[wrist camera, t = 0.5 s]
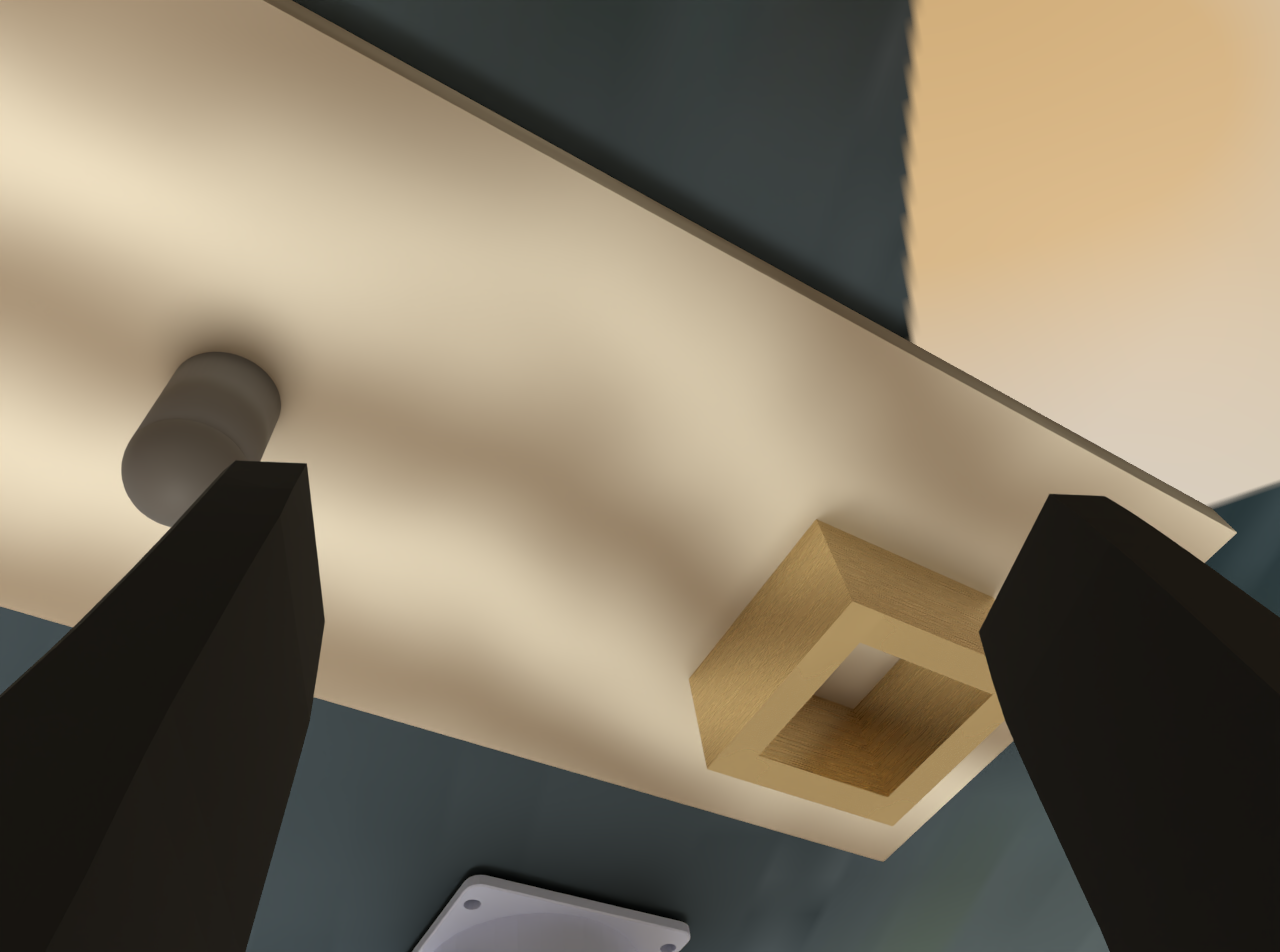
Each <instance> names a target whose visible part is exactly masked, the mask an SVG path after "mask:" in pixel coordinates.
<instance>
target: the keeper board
mask: <svg viewBox="0 0 1280 952" xmlns="http://www.w3.org/2000/svg"><path fill="white" fill-rule="evenodd" d="M235 460H238V461H262V462H287V463H307V468H308V477H309V486H310V494H311V503H312V512H313V521H314V529H315V538H316V547H317V556H318V565H319V573H320V582H321V591H322V600H323V608H324V617H325V625H324V631H323V638H322V645H321V652H320V658H319V665H318V672H317V678H316V684H315V691H314V697H316V698H319V699H322V700H326V701H329V702H333V703H336V704H340V705H343V706H347V707H350V708H354V709H357V710H360V711H364V712H367V713H371V714H374V715H378V716H381V717H385V718H388V719H392V720H395V721H398V722H402V723H405V724H409V725H412V726H416V727H419V728H423V729H426V730H430V731H433V732H436V733H440V734H443V735H447V736H450V737H454V738H457V739H461V740H464V741H468V742H471V743H474V744H478V745H481V746H485V747H488V748H492V749H495V750H499V751H502V752H506V753H509V754H512V755H516V756H519V757H523V758H526V759H530V760H533V761H537V762H540V763H544V764H547V765H550V766H554V767H557V768H561V769H564V770H568V771H571V772H575V773H578V774H582V775H585V776H588V777H592V778H595V779H599V780H602V781H606V782H609V783H613V784H616V785H620V786H623V787H626V788H630V789H633V790H637V791H640V792H644V793H647V794H651V795H654V796H658V797H661V798H664V799H668V800H671V801H675V802H678V803H682V804H685V805H689V806H692V807H696V808H699V809H702V810H706V811H709V812H713V813H716V814H720V815H723V816H727V817H730V818H734V819H737V820H740V821H744V822H747V823H751V824H754V825H758V826H761V827H765V828H768V829H772V830H775V831H778V832H782V833H785V834H789V835H792V836H796V837H799V838H803V839H806V840H810V841H813V842H816V843H820V844H823V845H827V846H830V847H834V848H837V849H841V850H844V851H848V852H851V853H855V854H858V855H861V856H865V857H868V858H872V859H875V860H879V861H882V862H884V861H885V860H886V859H887V858H888V857H889V856H890V855H891V854H892V853H893V852H894V851H895V850H896V849H898V848H899V847H900V846H901V845H902V844H903V843H904V842H905V841H906V840H907V839H908V838H909V837H910V836H911V835H913V834H914V833H915V832H916V831H917V830H918V829H919V828H920V827H921V826H922V825H923V824H924V823H925V822H927V821H928V820H929V819H930V818H931V817H932V816H933V815H934V814H935V813H936V812H937V811H938V810H939V809H941V808H942V807H943V806H944V805H945V804H946V803H947V802H948V801H949V800H950V799H951V798H952V797H953V796H954V795H956V794H957V793H958V792H959V791H960V790H961V789H962V788H963V787H964V786H965V785H966V784H967V783H968V782H970V781H971V780H972V779H973V778H974V777H975V776H976V775H977V774H978V773H979V772H980V771H981V770H982V769H984V768H985V767H986V766H987V765H988V764H989V763H990V762H991V761H992V760H993V759H994V758H995V757H996V756H997V755H999V754H1000V753H1001V752H1002V751H1003V750H1004V749H1005V748H1006V747H1007V746H1008V745H1009V744H1010V743H1011V742H1013V741H1014V740H1013V738H1012V736H1011V733H1010V731H1009V729H1008V726H1007V724H1006V722H1005V720H1004V721H1003V722H1002V723H1001V724H1000V725H999V726H998V727H997V728H996V729H995V730H994V731H993V732H992V733H991V734H990V735H989V736H988V737H986V738H985V739H984V740H983V741H982V742H981V743H980V744H979V745H978V746H977V747H976V748H975V749H974V750H973V751H972V752H971V753H970V754H969V755H968V756H966V757H965V758H964V759H963V760H962V761H961V762H960V763H959V764H958V765H957V766H956V767H955V768H954V769H953V770H952V771H951V772H950V773H949V774H948V775H946V776H945V777H944V778H943V779H942V780H941V781H940V782H939V783H938V784H937V785H936V786H935V787H934V788H933V789H932V790H931V791H930V792H929V793H928V794H926V795H925V796H924V797H923V798H922V799H921V800H920V801H919V802H918V803H917V804H916V805H915V806H914V807H913V808H912V809H911V810H910V811H909V812H908V813H906V814H905V815H904V816H903V817H902V818H901V819H900V820H899V821H898V822H897V823H896V824H895V825H894V826H890V825H886V824H883V823H880V822H877V821H873V820H870V819H867V818H864V817H860V816H857V815H854V814H851V813H847V812H844V811H841V810H838V809H834V808H831V807H828V806H825V805H822V804H818V803H815V802H812V801H809V800H805V799H802V798H799V797H796V796H792V795H789V794H786V793H783V792H779V791H776V790H773V789H770V788H766V787H763V786H760V785H757V784H753V783H750V782H747V781H744V780H740V779H737V778H734V777H731V776H727V775H724V774H721V773H718V772H714V771H711V770H708V769H707V767H706V762H705V757H704V752H703V747H702V742H701V737H700V732H699V727H698V722H697V717H696V713H695V708H694V703H693V698H692V693H691V688H690V683H689V678H690V676H691V675H692V674H693V673H694V671H695V670H696V669H697V668H698V666H699V665H700V664H701V663H702V661H703V660H704V659H705V658H706V656H707V655H708V654H709V653H710V651H711V650H712V649H713V648H714V646H715V645H716V644H717V643H718V641H719V640H720V639H721V638H722V636H723V635H724V634H725V633H726V631H727V630H728V629H729V628H730V626H731V625H732V624H733V623H734V621H735V620H736V619H737V618H738V616H739V615H740V614H741V613H742V611H743V610H744V609H745V608H746V606H747V605H748V604H749V603H750V601H751V600H752V599H753V598H754V596H755V595H756V594H757V593H758V591H759V590H760V589H761V588H762V586H763V585H764V584H765V583H766V581H767V580H768V579H769V578H770V576H771V575H772V574H773V573H774V571H775V570H776V569H777V567H778V566H779V565H780V564H781V562H782V561H783V560H784V559H785V557H786V556H787V555H788V554H789V552H790V551H791V550H792V549H793V547H794V546H795V545H796V544H797V542H798V541H799V540H800V539H801V537H802V536H803V535H804V534H805V532H806V531H807V530H808V529H809V527H810V526H811V525H812V524H813V522H814V521H815V520H816V519H817V520H820V521H822V522H824V523H826V524H829V525H831V526H833V527H835V528H838V529H840V530H842V531H844V532H847V533H849V534H851V535H853V536H856V537H858V538H860V539H863V540H865V541H867V542H869V543H872V544H874V545H876V546H878V547H881V548H883V549H885V550H887V551H890V552H892V553H894V554H896V555H899V556H901V557H903V558H905V559H908V560H910V561H912V562H914V563H917V564H919V565H921V566H923V567H926V568H928V569H930V570H932V571H935V572H937V573H939V574H941V575H944V576H946V577H948V578H950V579H953V580H955V581H957V582H959V583H962V584H964V585H966V586H968V587H971V588H973V589H975V590H977V591H980V592H982V593H984V594H987V595H989V596H991V597H993V598H994V599H996V597H997V595H998V593H999V591H1000V589H1001V587H1002V585H1003V583H1004V581H1005V580H1006V578H1007V576H1008V574H1009V572H1010V570H1011V568H1012V566H1013V564H1014V562H1015V560H1016V558H1017V556H1018V554H1019V552H1020V550H1021V548H1022V546H1023V544H1024V542H1025V540H1026V539H1027V537H1028V535H1029V533H1030V531H1031V529H1032V527H1033V525H1034V523H1035V521H1036V519H1037V517H1038V515H1039V513H1040V511H1041V509H1042V507H1043V505H1044V503H1045V501H1046V500H1047V498H1048V496H1049V494H1069V495H1093V496H1106V497H1107V498H1109V499H1111V500H1112V501H1114V502H1116V503H1117V504H1119V505H1120V506H1122V507H1124V508H1125V509H1127V510H1129V511H1130V512H1132V513H1133V514H1135V515H1136V516H1138V517H1139V518H1141V519H1142V520H1144V521H1145V522H1147V523H1148V524H1150V525H1151V526H1153V527H1154V528H1156V529H1157V530H1159V531H1160V532H1161V533H1163V534H1164V535H1166V536H1167V537H1169V538H1170V539H1171V540H1173V541H1174V542H1176V543H1177V544H1178V545H1180V546H1181V547H1183V548H1184V549H1186V550H1187V551H1188V552H1190V553H1191V554H1193V555H1194V556H1195V557H1197V558H1198V559H1199V560H1201V561H1202V562H1204V563H1205V562H1206V561H1207V560H1208V559H1209V558H1210V557H1211V556H1212V555H1214V554H1215V553H1216V552H1217V551H1218V550H1219V549H1220V548H1221V547H1222V546H1223V545H1224V544H1225V543H1226V542H1228V541H1229V540H1230V539H1231V538H1232V537H1233V536H1234V535H1235V534H1236V533H1237V532H1236V531H1235V530H1234V529H1233V528H1232V527H1231V526H1230V525H1228V524H1227V523H1226V522H1225V521H1224V520H1223V519H1222V518H1221V517H1220V516H1219V515H1218V514H1217V513H1216V512H1215V511H1214V510H1213V509H1212V508H1210V507H1208V506H1206V505H1204V504H1202V503H1201V502H1199V501H1197V500H1195V499H1193V498H1192V497H1190V496H1188V495H1186V494H1184V493H1182V492H1181V491H1179V490H1177V489H1175V488H1173V487H1172V486H1170V485H1168V484H1166V483H1164V482H1162V481H1161V480H1159V479H1157V478H1155V477H1154V476H1152V475H1150V474H1148V473H1146V472H1144V471H1143V470H1141V469H1139V468H1137V467H1136V466H1134V465H1132V464H1130V463H1128V462H1126V461H1125V460H1123V459H1121V458H1119V457H1117V456H1116V455H1114V454H1112V453H1110V452H1108V451H1107V450H1105V449H1103V448H1101V447H1099V446H1097V445H1096V444H1094V443H1092V442H1090V441H1088V440H1087V439H1084V438H1083V437H1081V436H1079V435H1078V434H1076V433H1074V432H1072V431H1070V430H1069V429H1067V428H1065V427H1063V426H1061V425H1060V424H1058V423H1056V422H1054V421H1052V420H1050V419H1049V418H1047V417H1045V416H1043V415H1041V414H1039V413H1037V412H1036V411H1034V410H1032V409H1031V408H1029V407H1027V406H1025V405H1023V404H1021V403H1019V402H1018V401H1016V400H1014V399H1012V398H1010V397H1009V396H1007V395H1005V394H1003V393H1002V392H1000V391H998V390H996V389H994V388H992V387H991V386H989V385H987V384H985V383H983V382H982V381H980V380H978V379H976V378H974V377H973V376H971V375H969V374H967V373H965V372H964V371H961V370H960V369H958V368H956V367H954V366H953V365H950V364H949V363H947V362H945V361H944V360H942V359H940V358H938V357H936V356H935V355H933V354H931V353H929V352H927V351H925V350H924V349H922V348H920V347H918V346H917V345H915V344H913V343H911V342H909V341H907V340H906V339H904V338H902V337H900V336H898V335H897V334H895V333H893V332H891V331H889V330H888V329H886V328H884V327H882V326H880V325H879V324H877V323H875V322H873V321H871V320H869V319H868V318H866V317H864V316H862V315H860V314H859V313H857V312H855V311H853V310H851V309H850V308H848V307H846V306H844V305H842V304H841V303H839V302H837V301H835V300H833V299H831V298H830V297H828V296H826V295H824V294H822V293H821V292H819V291H817V290H815V289H813V288H812V287H810V286H808V285H806V284H804V283H802V282H801V281H799V280H797V279H795V278H793V277H792V276H790V275H788V274H786V273H784V272H783V271H781V270H779V269H777V268H775V267H774V266H772V265H770V264H768V263H766V262H764V261H763V260H761V259H759V258H757V257H755V256H754V255H752V254H750V253H748V252H746V251H745V250H743V249H741V248H739V247H737V246H736V245H734V244H732V243H730V242H728V241H726V240H725V239H723V238H721V237H719V236H717V235H716V234H714V233H712V232H710V231H708V230H707V229H705V228H703V227H701V226H699V225H698V224H696V223H694V222H692V221H690V220H688V219H687V218H685V217H683V216H681V215H679V214H678V213H676V212H674V211H672V210H670V209H669V208H667V207H665V206H663V205H661V204H660V203H658V202H656V201H654V200H652V199H650V198H649V197H647V196H645V195H643V194H641V193H640V192H638V191H636V190H634V189H632V188H631V187H629V186H627V185H625V184H623V183H622V182H620V181H618V180H616V179H614V178H612V177H611V176H609V175H607V174H605V173H603V172H602V171H600V170H598V169H596V168H594V167H593V166H591V165H589V164H587V163H585V162H583V161H582V160H580V159H578V158H576V157H574V156H573V155H571V154H569V153H567V152H565V151H564V150H562V149H560V148H558V147H556V146H555V145H553V144H551V143H549V142H547V141H545V140H544V139H542V138H540V137H538V136H536V135H535V134H533V133H531V132H529V131H527V130H526V129H524V128H522V127H520V126H518V125H517V124H515V123H513V122H511V121H509V120H507V119H506V118H504V117H502V116H500V115H498V114H497V113H495V112H493V111H491V110H489V109H488V108H486V107H484V106H482V105H480V104H479V103H477V102H475V101H473V100H471V99H469V98H468V97H466V96H464V95H462V94H460V93H459V92H457V91H455V90H453V89H451V88H450V87H448V86H446V85H444V84H442V83H441V82H439V81H437V80H435V79H433V78H431V77H430V76H428V75H426V74H424V73H422V72H421V71H419V70H417V69H415V68H413V67H412V66H410V65H408V64H406V63H404V62H403V61H401V60H399V59H397V58H395V57H393V56H392V55H390V54H388V53H386V52H384V51H383V50H381V49H379V48H377V47H375V46H374V45H372V44H370V43H368V42H366V41H364V40H363V39H361V38H359V37H357V36H355V35H354V34H352V33H350V32H348V31H346V30H345V29H343V28H341V27H339V26H337V25H336V24H334V23H332V22H330V21H328V20H326V19H325V18H323V17H321V16H319V15H317V14H316V13H314V12H312V11H310V10H308V9H307V8H305V7H303V6H301V5H299V4H298V3H296V2H294V1H292V0H0V606H1V607H5V608H8V609H12V610H15V611H18V612H22V613H25V614H29V615H32V616H36V617H39V618H43V619H46V620H50V621H53V622H56V623H60V624H63V625H67V626H70V627H74V626H75V625H76V624H77V623H78V622H79V621H80V620H81V619H82V618H83V617H84V616H85V615H86V614H87V613H88V612H89V611H90V610H91V609H92V608H93V607H94V606H95V605H96V604H97V603H98V602H99V601H100V600H101V599H102V598H103V597H104V596H105V595H106V594H107V593H108V592H109V591H110V590H111V589H112V588H113V587H114V586H115V585H116V584H117V583H118V582H119V581H120V580H121V579H122V578H123V577H124V576H125V575H126V574H127V573H128V572H129V571H130V570H131V569H132V568H133V567H134V566H135V565H136V564H137V563H138V562H139V561H140V560H141V559H142V557H143V556H144V555H145V554H146V553H147V552H148V551H149V550H150V549H151V548H152V547H153V546H154V545H155V544H156V543H157V542H158V541H159V540H160V539H161V537H162V536H163V535H164V534H165V533H166V532H167V531H168V530H169V529H170V528H171V527H172V526H173V525H174V524H175V523H176V521H177V520H178V519H179V518H180V517H181V516H182V515H183V514H184V513H185V512H186V511H187V510H188V508H189V507H190V506H191V505H192V504H193V503H194V502H195V501H196V500H197V499H198V498H199V496H200V495H201V494H202V493H203V492H204V491H205V490H206V489H207V488H208V487H209V486H210V484H211V483H212V482H213V481H214V480H215V479H216V478H217V477H218V476H219V475H220V474H221V473H222V471H223V470H225V469H226V468H227V467H228V466H229V465H231V464H232V463H233V462H234V461H235ZM900 659H901V658H898V657H895V656H893V655H890V654H888V653H885V652H883V651H880V650H878V649H875V648H873V647H870V646H867V645H865V644H862V643H859V644H858V645H857V646H856V648H855V649H854V650H853V651H852V652H851V653H850V654H849V655H848V657H847V658H846V659H845V660H844V661H843V662H842V663H841V664H840V665H839V667H838V668H837V669H836V670H835V671H834V672H833V673H832V674H831V675H830V677H829V678H828V679H827V680H826V681H825V682H824V683H823V684H822V686H821V687H820V688H819V689H818V690H817V691H816V692H815V693H814V694H813V695H816V696H819V697H821V698H824V699H827V700H830V701H833V702H835V703H838V704H841V705H844V706H846V707H849V708H852V709H854V708H855V707H856V706H857V705H858V703H859V702H860V701H861V700H862V699H863V698H864V697H865V696H866V695H867V694H868V693H869V692H870V691H871V690H872V689H873V687H874V686H875V685H876V684H877V683H878V682H879V681H880V680H881V679H882V678H883V677H884V676H885V675H886V674H887V672H888V671H889V670H890V669H891V668H892V667H893V666H894V665H895V664H896V663H897V662H898V661H899V660H900Z"/></svg>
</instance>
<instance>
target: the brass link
mask: <svg viewBox="0 0 1280 952" xmlns="http://www.w3.org/2000/svg"><path fill="white" fill-rule="evenodd" d="M994 601H995V599H994V598H993V597H991V596H989V595H987V594H984V593H982V592H980V591H977V590H975V589H973V588H971V587H968V586H966V585H964V584H962V583H959V582H957V581H955V580H953V579H950V578H948V577H946V576H944V575H941V574H939V573H937V572H935V571H932V570H930V569H928V568H926V567H923V566H921V565H919V564H917V563H914V562H912V561H910V560H908V559H905V558H903V557H901V556H899V555H896V554H894V553H892V552H890V551H887V550H885V549H883V548H881V547H878V546H876V545H874V544H872V543H869V542H867V541H865V540H863V539H860V538H858V537H856V536H853V535H851V534H849V533H847V532H844V531H842V530H840V529H838V528H835V527H833V526H831V525H829V524H826V523H824V522H822V521H820V520H817V519H816V520H815V521H814V522H813V524H812V525H811V526H810V527H809V529H808V530H807V531H806V532H805V534H804V535H803V536H802V537H801V539H800V540H799V541H798V542H797V544H796V545H795V546H794V547H793V549H792V550H791V551H790V552H789V554H788V555H787V556H786V557H785V559H784V560H783V561H782V562H781V564H780V565H779V566H778V567H777V569H776V570H775V571H774V573H773V574H772V575H771V576H770V578H769V579H768V580H767V581H766V583H765V584H764V585H763V586H762V588H761V589H760V590H759V591H758V593H757V594H756V595H755V596H754V598H753V599H752V600H751V601H750V603H749V604H748V605H747V606H746V608H745V609H744V610H743V611H742V613H741V614H740V615H739V616H738V618H737V619H736V620H735V621H734V623H733V624H732V625H731V626H730V628H729V629H728V630H727V631H726V633H725V634H724V635H723V636H722V638H721V639H720V640H719V641H718V643H717V644H716V645H715V646H714V648H713V649H712V650H711V651H710V653H709V654H708V655H707V656H706V658H705V659H704V660H703V661H702V663H701V664H700V665H699V666H698V668H697V669H696V670H695V671H694V673H693V674H692V675H691V676H690V678H689V683H690V688H691V693H692V698H693V703H694V708H695V713H696V717H697V722H698V727H699V732H700V737H701V742H702V747H703V752H704V757H705V762H706V767H707V769H708V770H711V771H714V772H718V773H721V774H724V775H727V776H731V777H734V778H737V779H740V780H744V781H747V782H750V783H753V784H757V785H760V786H763V787H766V788H770V789H773V790H776V791H779V792H783V793H786V794H789V795H792V796H796V797H799V798H802V799H805V800H809V801H812V802H815V803H818V804H822V805H825V806H828V807H831V808H834V809H838V810H841V811H844V812H847V813H851V814H854V815H857V816H860V817H864V818H867V819H870V820H873V821H877V822H880V823H883V824H886V825H890V826H894V825H895V824H896V823H897V822H898V821H899V820H900V819H901V818H902V817H903V816H904V815H905V814H906V813H908V812H909V811H910V810H911V809H912V808H913V807H914V806H915V805H916V804H917V803H918V802H919V801H920V800H921V799H922V798H923V797H924V796H925V795H926V794H928V793H929V792H930V791H931V790H932V789H933V788H934V787H935V786H936V785H937V784H938V783H939V782H940V781H941V780H942V779H943V778H944V777H945V776H946V775H948V774H949V773H950V772H951V771H952V770H953V769H954V768H955V767H956V766H957V765H958V764H959V763H960V762H961V761H962V760H963V759H964V758H965V757H966V756H968V755H969V754H970V753H971V752H972V751H973V750H974V749H975V748H976V747H977V746H978V745H979V744H980V743H981V742H982V741H983V740H984V739H985V738H986V737H988V736H989V735H990V734H991V733H992V732H993V731H994V730H995V729H996V728H997V727H998V726H999V725H1000V724H1001V723H1002V722H1003V721H1004V720H1005V719H1004V716H1003V713H1002V709H1001V706H1000V703H999V700H998V697H997V694H996V691H995V688H994V685H993V682H992V678H991V675H990V671H989V667H988V664H987V660H986V657H985V653H984V649H983V646H982V642H981V639H980V635H979V630H980V628H981V626H982V624H983V622H984V621H985V619H986V617H987V615H988V613H989V611H990V609H991V607H992V605H993V603H994ZM859 643H862V644H865V645H867V646H870V647H873V648H875V649H878V650H880V651H883V652H885V653H888V654H890V655H893V656H895V657H898V658H901V659H900V660H899V661H898V662H897V663H896V664H895V665H894V666H893V667H892V668H891V669H890V670H889V671H888V672H887V674H886V675H885V676H884V677H883V678H882V679H881V680H880V681H879V682H878V683H877V684H876V685H875V686H874V687H873V689H872V690H871V691H870V692H869V693H868V694H867V695H866V696H865V697H864V698H863V699H862V700H861V701H860V702H859V703H858V705H857V706H856V707H855V708H854V709H852V708H849V707H846V706H844V705H841V704H838V703H835V702H833V701H830V700H827V699H824V698H821V697H819V696H816V695H813V694H814V693H815V692H816V691H817V690H818V689H819V688H820V687H821V686H822V684H823V683H824V682H825V681H826V680H827V679H828V678H829V677H830V675H831V674H832V673H833V672H834V671H835V670H836V669H837V668H838V667H839V665H840V664H841V663H842V662H843V661H844V660H845V659H846V658H847V657H848V655H849V654H850V653H851V652H852V651H853V650H854V649H855V648H856V646H857V645H858V644H859Z"/></svg>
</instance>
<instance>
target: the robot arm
mask: <svg viewBox="0 0 1280 952" xmlns="http://www.w3.org/2000/svg"><path fill="white" fill-rule="evenodd" d="M324 625H325V617H324V608H323V600H322V591H321V582H320V573H319V565H318V556H317V547H316V538H315V529H314V521H313V512H312V503H311V494H310V486H309V477H308V468H307V463H287V462H262V461H238V460H235V461H234V462H233V463H232V464H231V465H229V466H228V467H227V468H226V469H225V470H223V471H222V473H221V474H220V475H219V476H218V477H217V478H216V479H215V480H214V481H213V482H212V483H211V484H210V486H209V487H208V488H207V489H206V490H205V491H204V492H203V493H202V494H201V495H200V496H199V498H198V499H197V500H196V501H195V502H194V503H193V504H192V505H191V506H190V507H189V508H188V510H187V511H186V512H185V513H184V514H183V515H182V516H181V517H180V518H179V519H178V520H177V521H176V523H175V524H174V525H173V526H172V527H171V528H170V529H169V530H168V531H167V532H166V533H165V534H164V535H163V536H162V537H161V539H160V540H159V541H158V542H157V543H156V544H155V545H154V546H153V547H152V548H151V549H150V550H149V551H148V552H147V553H146V554H145V555H144V556H143V557H142V559H141V560H140V561H139V562H138V563H137V564H136V565H135V566H134V567H133V568H132V569H131V570H130V571H129V572H128V573H127V574H126V575H125V576H124V577H123V578H122V579H121V580H120V581H119V582H118V583H117V584H116V585H115V586H114V587H113V588H112V589H111V590H110V591H109V592H108V593H107V594H106V595H105V596H104V597H103V598H102V599H101V600H100V601H99V602H98V603H97V604H96V605H95V606H94V607H93V608H92V609H91V610H90V611H89V612H88V613H87V614H86V615H85V616H84V617H83V618H82V619H81V620H80V621H79V622H78V623H77V624H76V625H75V626H74V627H73V628H72V629H71V630H70V631H69V632H68V633H67V634H66V635H65V636H64V637H63V638H62V639H61V640H60V641H59V642H58V643H56V644H55V645H54V646H53V647H52V648H51V649H50V650H49V651H48V652H47V653H46V654H45V655H44V656H43V657H41V658H40V659H39V660H38V661H37V662H36V663H35V664H34V665H33V666H32V667H30V668H29V669H28V670H27V671H26V672H25V673H24V674H23V675H22V676H21V677H19V678H18V679H17V680H16V681H15V682H14V683H13V684H12V685H11V686H10V687H8V688H7V689H6V690H5V691H4V692H3V693H2V694H1V695H0V952H245V951H246V947H247V944H248V940H249V937H250V933H251V929H252V926H253V922H254V919H255V915H256V912H257V908H258V905H259V901H260V897H261V894H262V890H263V887H264V883H265V880H266V876H267V873H268V869H269V865H270V862H271V858H272V855H273V851H274V848H275V844H276V841H277V837H278V834H279V830H280V826H281V823H282V819H283V816H284V812H285V809H286V805H287V802H288V798H289V794H290V791H291V787H292V783H293V780H294V776H295V773H296V769H297V765H298V762H299V758H300V754H301V751H302V747H303V744H304V740H305V736H306V732H307V729H308V725H309V721H310V715H311V709H312V703H313V697H314V691H315V684H316V678H317V672H318V665H319V658H320V652H321V645H322V638H323V631H324ZM979 635H980V639H981V642H982V646H983V649H984V653H985V657H986V660H987V664H988V667H989V671H990V675H991V678H992V682H993V685H994V688H995V691H996V694H997V697H998V700H999V703H1000V706H1001V709H1002V713H1003V716H1004V719H1005V722H1006V724H1007V726H1008V729H1009V731H1010V733H1011V736H1012V738H1013V740H1014V743H1015V745H1016V747H1017V749H1018V751H1019V754H1020V756H1021V758H1022V760H1023V763H1024V765H1025V767H1026V769H1027V771H1028V774H1029V776H1030V778H1031V780H1032V782H1033V785H1034V787H1035V789H1036V791H1037V794H1038V796H1039V798H1040V800H1041V802H1042V804H1043V806H1044V809H1045V811H1046V813H1047V815H1048V817H1049V819H1050V821H1051V824H1052V826H1053V828H1054V830H1055V832H1056V834H1057V837H1058V839H1059V841H1060V843H1061V845H1062V847H1063V849H1064V852H1065V854H1066V856H1067V858H1068V860H1069V862H1070V864H1071V867H1072V869H1073V871H1074V873H1075V875H1076V877H1077V880H1078V882H1079V884H1080V886H1081V888H1082V890H1083V892H1084V895H1085V897H1086V899H1087V901H1088V903H1089V905H1090V908H1091V910H1092V912H1093V914H1094V916H1095V918H1096V920H1097V923H1098V925H1099V927H1100V929H1101V931H1102V934H1103V936H1104V939H1105V941H1106V943H1107V946H1108V948H1109V951H1110V952H1280V617H1278V616H1277V615H1275V614H1274V613H1273V612H1271V611H1270V610H1268V609H1267V608H1266V607H1264V606H1263V605H1262V604H1260V603H1259V602H1257V601H1256V600H1255V599H1253V598H1252V597H1251V596H1249V595H1248V594H1246V593H1245V592H1244V591H1242V590H1241V589H1239V588H1238V587H1237V586H1235V585H1234V584H1233V583H1231V582H1230V581H1228V580H1227V579H1226V578H1224V577H1223V576H1222V575H1220V574H1219V573H1217V572H1216V571H1215V570H1213V569H1212V568H1211V567H1209V566H1208V565H1206V564H1205V563H1204V562H1202V561H1201V560H1199V559H1198V558H1197V557H1195V556H1194V555H1193V554H1191V553H1190V552H1188V551H1187V550H1186V549H1184V548H1183V547H1181V546H1180V545H1178V544H1177V543H1176V542H1174V541H1173V540H1171V539H1170V538H1169V537H1167V536H1166V535H1164V534H1163V533H1161V532H1160V531H1159V530H1157V529H1156V528H1154V527H1153V526H1151V525H1150V524H1148V523H1147V522H1145V521H1144V520H1142V519H1141V518H1139V517H1138V516H1136V515H1135V514H1133V513H1132V512H1130V511H1129V510H1127V509H1125V508H1124V507H1122V506H1120V505H1119V504H1117V503H1116V502H1114V501H1112V500H1111V499H1109V498H1107V497H1106V496H1093V495H1069V494H1049V496H1048V498H1047V500H1046V501H1045V503H1044V505H1043V507H1042V509H1041V511H1040V513H1039V515H1038V517H1037V519H1036V521H1035V523H1034V525H1033V527H1032V529H1031V531H1030V533H1029V535H1028V537H1027V539H1026V540H1025V542H1024V544H1023V546H1022V548H1021V550H1020V552H1019V554H1018V556H1017V558H1016V560H1015V562H1014V564H1013V566H1012V568H1011V570H1010V572H1009V574H1008V576H1007V578H1006V580H1005V581H1004V583H1003V585H1002V587H1001V589H1000V591H999V593H998V595H997V597H996V599H995V601H994V603H993V605H992V607H991V609H990V611H989V613H988V615H987V617H986V619H985V621H984V622H983V624H982V626H981V628H980V630H979ZM689 940H690V930H689V926H688V925H687V924H686V923H684V922H682V921H678V920H673V919H669V918H665V917H661V916H657V915H652V914H648V913H644V912H640V911H635V910H631V909H627V908H623V907H618V906H614V905H610V904H606V903H602V902H597V901H593V900H589V899H585V898H580V897H576V896H572V895H568V894H564V893H559V892H555V891H551V890H547V889H542V888H538V887H534V886H530V885H526V884H521V883H517V882H513V881H509V880H504V879H500V878H496V877H492V876H488V875H474V876H471V877H469V878H468V879H467V880H465V881H464V883H463V884H462V885H461V887H460V888H459V889H458V891H457V892H456V893H455V895H454V896H453V897H452V899H451V900H450V901H449V903H448V904H447V905H446V907H445V908H444V909H443V911H442V912H441V913H440V915H439V916H438V917H437V919H436V920H435V921H434V923H433V924H432V925H431V927H430V928H429V929H428V931H427V932H426V933H425V935H424V936H423V937H422V939H421V940H420V941H419V943H418V944H417V946H416V947H415V948H414V950H413V951H412V952H679V951H680V950H681V949H682V948H683V947H684V946H685V945H686V944H687V943H688V942H689Z"/></svg>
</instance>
